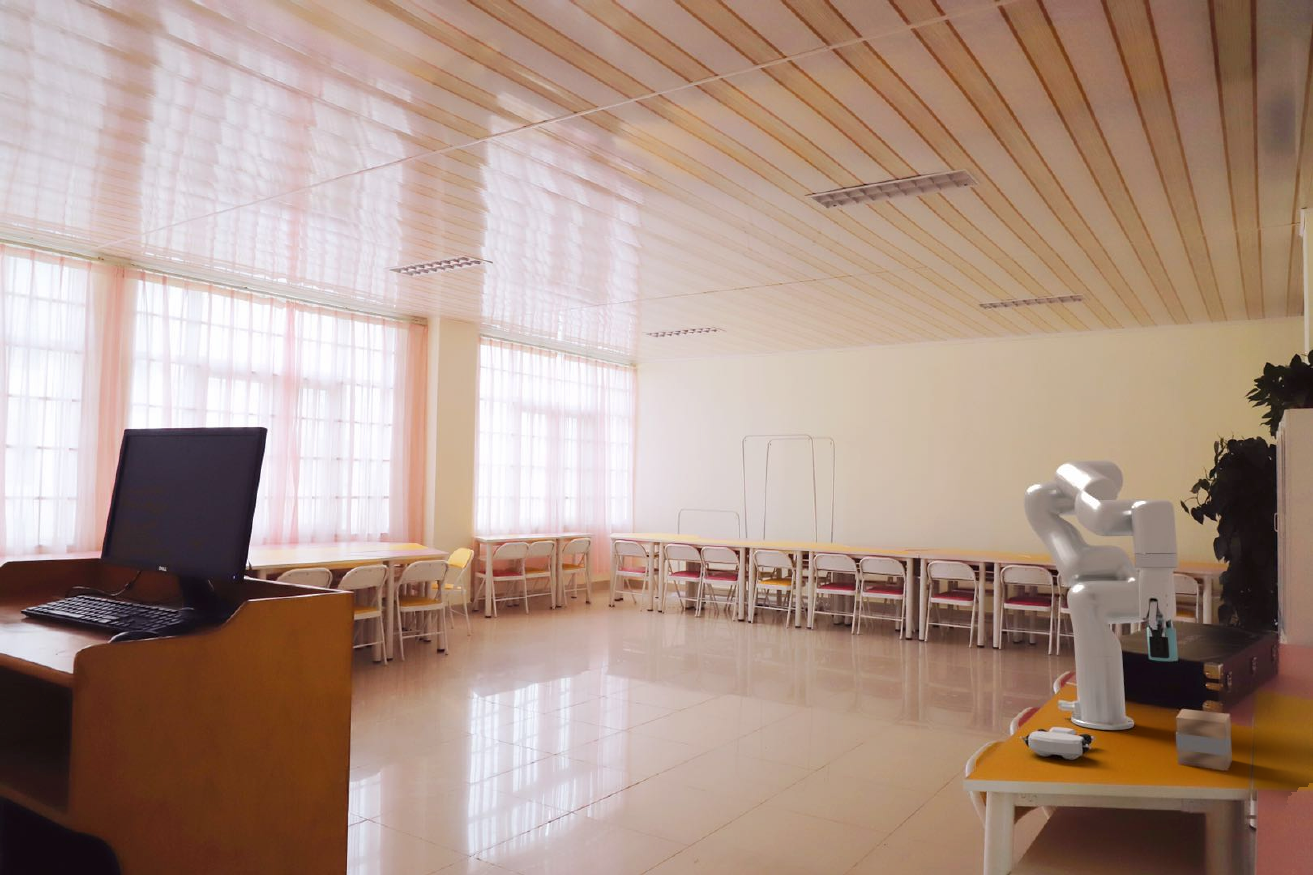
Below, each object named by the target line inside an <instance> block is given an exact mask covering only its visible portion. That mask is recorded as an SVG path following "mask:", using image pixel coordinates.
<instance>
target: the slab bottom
mask: <svg viewBox="0 0 1313 875" xmlns="http://www.w3.org/2000/svg"><path fill="white" fill-rule="evenodd" d="M1176 752H1177V754H1176V755H1177V764H1178V765H1182V764H1183V765H1184V766H1190V767H1196V766H1198V767H1199V768H1203V767H1204V769H1210V768H1211V770H1217V769H1218V771H1224V770H1228V771H1229V769H1230V766H1231V764H1232V762H1233V755H1232V754H1233V752H1232V746H1231V747H1230V749H1229V751H1228V753H1227V755H1226V756H1222V755H1215V754H1208V753H1200V752H1193V751H1185V750H1178V749H1177V748H1176ZM1230 763H1231V764H1230ZM1198 767H1197V768H1198ZM1228 768H1229V769H1228Z"/></svg>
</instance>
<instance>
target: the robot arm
mask: <svg viewBox="0 0 1313 875" xmlns="http://www.w3.org/2000/svg"><path fill="white" fill-rule="evenodd" d="M1123 486H1124V477H1123V472H1122V471H1121V469H1120V467H1119V466H1118V465H1117V464H1116V463H1114V462H1113V461H1110V460H1102V459H1101V460H1074V461H1073V460H1072V461H1068V462H1064V463H1063V464H1060V465H1059V466H1058V467H1057V468H1056V470H1055V472H1054V474H1053V481H1045V482H1043V481H1042V482H1038V483H1035V484H1032V485H1030V486H1029V487H1028V488H1027V489H1026V490H1025V493H1024V496H1023V508H1024V513H1025V515H1026V518H1027V521H1028V523H1029V525H1030V526H1031V528H1032V530H1033V531H1034V532H1035V533H1036V535H1037V537H1039V539H1040V540H1041V541H1042V542H1043V544H1044V546H1045V547H1046V549H1047V551H1048V554H1049V556H1050V558H1051V560H1052V562H1053V564H1054V566H1055V568H1056V570H1057V572H1058V574H1059V576H1060V577H1061V579H1062V581H1063V582H1064V583H1065V584H1066V585H1069V586H1071V587H1070V588H1069V590H1068V591H1067V596H1066V599H1067V601H1066V602H1067V603H1066V604H1067V607H1068V608H1067V609H1068V612H1069V616H1070V620H1071V624H1072V631H1073V641H1074V645H1073V646H1074V662H1075V678H1076V695H1077V699H1076V700H1073V701H1068V700H1061V699H1058V702H1057V707H1058V709H1059V710H1061V711H1064V712H1065V711H1067V712H1068V711H1069V712H1072V714H1071V716H1070V720H1071V722H1072V723H1073V724H1075V725H1078V726H1080V727H1083V728H1089V729H1094V730H1102V731H1103V730H1104V731H1121V730H1128V729H1131V728H1133V727H1134V725H1135V722H1134V720H1133V718H1131V717H1129V716H1127V715H1126V702H1125V701H1126V700H1125V698H1126V697H1125V685H1124V681H1125V680H1124V668H1123V652H1122V645H1121V642H1120V639H1119V638H1118V636H1117V635H1116V634H1115V632H1114V631H1113V630H1112V629H1111V627H1110V626H1109V625H1114V624H1135V623H1136V624H1137V623H1143V622H1146V621H1148V627H1149V643H1150V656H1151V657H1154V658H1169V643H1168V637H1166V627H1171V628H1174V625H1173V619H1174V618H1175V617H1176V616H1177V600H1176V599H1177V597H1176V589H1175V578H1174V571H1179V570H1180V569H1179V558H1178V545H1177V534H1176V533H1177V532H1176V520H1175V519H1176V518H1175V509H1174V508H1175V507H1174V505H1173V503H1172V502H1171V500H1167V499H1146V498H1145V499H1118V495H1119V493H1120V491H1121V490H1122V489H1123ZM1061 516H1065V517H1066V516H1076V518H1077V520H1078V522H1079V524H1080V525H1081V526H1082V527H1083V528H1085V529H1086V530H1087V531H1090V532H1091V533H1092V534H1094V535H1096V536H1099V537H1126V536H1127V537H1132V538H1133V539H1132V540H1133V543H1132V544H1133V553H1134V554H1133V555H1134V561H1133V559H1132V558H1131V557H1130V555H1129V553H1127V551H1126V550H1124V549H1122V547H1119V546H1116V545H1093V544H1088V542H1086V540H1085V539H1084V537H1083V534H1082V533H1081V532H1080V530H1079V529H1078V528H1077V527H1076V526H1074V525H1073V524H1072V523H1071V522H1069V521H1068V520H1066V519H1065V518H1063V517H1061ZM1161 627H1162V629H1161Z"/></svg>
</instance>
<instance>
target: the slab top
mask: <svg viewBox="0 0 1313 875" xmlns="http://www.w3.org/2000/svg"><path fill="white" fill-rule="evenodd" d="M1175 720H1176V721H1175V722H1176V732H1177V734H1185V735H1194V736H1202V737H1210V738H1218V739H1226V740H1227V737H1228V735H1229V733H1230V734H1231V731H1232V728H1231V727H1232V725H1231V723H1232V722H1231V713H1226V712H1225V713H1223V712H1215V711H1214V712H1213V711H1205V710H1197V709H1195V710H1194V709H1187V708H1181V710H1180V711H1179V713H1178V714H1177V715H1176V716H1175Z"/></svg>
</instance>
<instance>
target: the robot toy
mask: <svg viewBox="0 0 1313 875" xmlns="http://www.w3.org/2000/svg"><path fill="white" fill-rule="evenodd" d="M1019 739H1020V740H1021V739H1022V740H1023V741H1024V743H1025V745H1026V746H1027V747H1029V750H1031V751H1034V752H1035V753H1036V754H1037V755H1039V756H1040V757H1051V756H1053V755H1057V756H1061V757H1063V758H1064V759H1065V760H1068V759H1069V761H1070V760H1071V761H1073V760H1076V759H1078V758H1079V757H1081V756H1083V754H1086V753H1087V752H1088V751H1089V750H1091V749H1092V746H1091V745H1090V744H1092V742H1094V741H1096V737H1095V736H1092V735H1091V734H1089V733H1083V734H1078V735H1077V731H1075V730H1074V729H1073V728H1068V727H1060V726H1052V727H1051V728H1050V729H1049V731H1048V730H1046V729H1045V728H1038V729H1037V730H1036V731H1032V732H1031V733H1028V734H1027V736H1025V737H1023V736H1020V737H1019Z"/></svg>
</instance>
